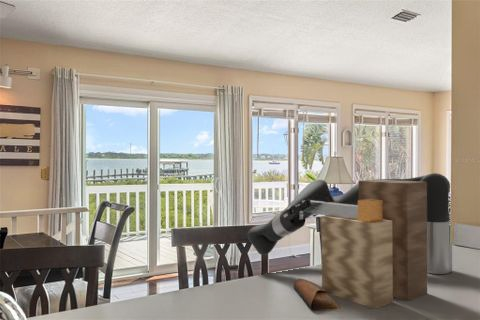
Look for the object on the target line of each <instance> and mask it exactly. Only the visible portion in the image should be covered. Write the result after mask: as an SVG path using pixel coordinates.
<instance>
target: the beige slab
mask: <svg viewBox="0 0 480 320" xmlns="http://www.w3.org/2000/svg"><path fill="white" fill-rule="evenodd" d="M321 287H322V288H324V289H325V290H326V292H327V293H328V294H329V295H333V296H335V297H339V298H342V299H344V300H347V301H351V302H353V303H356V304H359V305H363V306H365V307H368V308H371V309H378V308H381V307H383V306H386V305H389V304H391V303H393V302H394V301H393V300H394V299H393V298H394V297H393V252H392V221H390V220H382V221H376V222H364V221H358V220H355V219H348V218H341V217H334V216H327V215H321Z"/></svg>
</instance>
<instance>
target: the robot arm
mask: <svg viewBox="0 0 480 320" xmlns="http://www.w3.org/2000/svg"><path fill="white" fill-rule="evenodd" d="M376 180H398V181H420V182H427V274H435V275H445V274H446V275H447V274H449V273H453V244H452V243H450V211H449V210H450V209H449V208H450V206H449V192H450V191H451V190H450V189H451V182H450V180H449V179H448V178H447V177H446V176H445V175H443V174H441V173H437V172H436V173H435V172H433V173H430V174H426V175H422V176H415V177H411V178H382V179H381V178H379V179H376ZM331 194H332V193H331V190H330V188H329V186H328V183H327V181H325V180H321V179H319V180H313V181H312V182H310V183H308V184H307V185H306V186H305V187H304V188H303V189H302V190H301V191H300V192H299V193H298V195H297V196H295V198H294V199H293V200H292V201H291V202H290V203H289V204H288V206H286V207H285V208H284V209H283V210H282V211H281V212H279V213H278V214H277V215H275V216H274V217H273V218H272V219H270V220H269V221H268V222H267V223H262V224H258V225H255V226H253V227H251V228H250V229H249V230H248V232H247V239H248V240H249V242H250V243H251V244H252V246H253V247H254V249H255V250H256V251H257V253H258V254H259V255H263V256H266V255H268V254H270V253H271V252H272V251H273V249H274V248H275V246H276V245H277V243H278V242H279V241H280V240H282V239H284V238H285V237H286V236H290V235H292V234H293V233H295V232H297V231H298V230H300V229H302V228H303V227H304V226H305V224H306V220H307V219H310V218H311V217H317V216H318V215H319V214H313V213H306V212H304V211H305V210H306V209H308V208H309V207H311V206H312V204H311V201H310V200H313V201H323V202H332V203H341V204H350V205H358V200H359V182H358V183H356V184H355V185H354V186H353V187H352V188H350V189H349V190H348V191H347V192H346V191H345V193H343V194H339V195H331ZM302 201H304V202H303V203H302Z"/></svg>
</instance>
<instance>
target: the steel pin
mask: <svg viewBox="0 0 480 320" xmlns="http://www.w3.org/2000/svg"><path fill="white" fill-rule="evenodd" d="M310 201H311V204H312V206H311V207H309V208H308V209H306V210H305V211H304V212H306V213H313V214H318V215H321V216H326V215H327V216H334V217H341V218H348V219H355V220H358V221H364V222H376V221H382V220H383V200H376V199H365V200H358V205H350V204H341V203H332V202H323V201H313V200H310ZM303 202H304V201H302V203H303Z"/></svg>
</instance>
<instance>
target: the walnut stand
mask: <svg viewBox="0 0 480 320" xmlns="http://www.w3.org/2000/svg"><path fill="white" fill-rule="evenodd" d="M358 183H359V200H365V199H376V200H383V220H390V221H392V252H393V298H398V299H401V300H404V301H406V302H409V301H411V300H414V299H417V298H420V297H422V296H424V295H427V294H428V272H427V182H420V181H398V180H377V179H370V180H369V179H368V180H366V179H365V180H358Z"/></svg>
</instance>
